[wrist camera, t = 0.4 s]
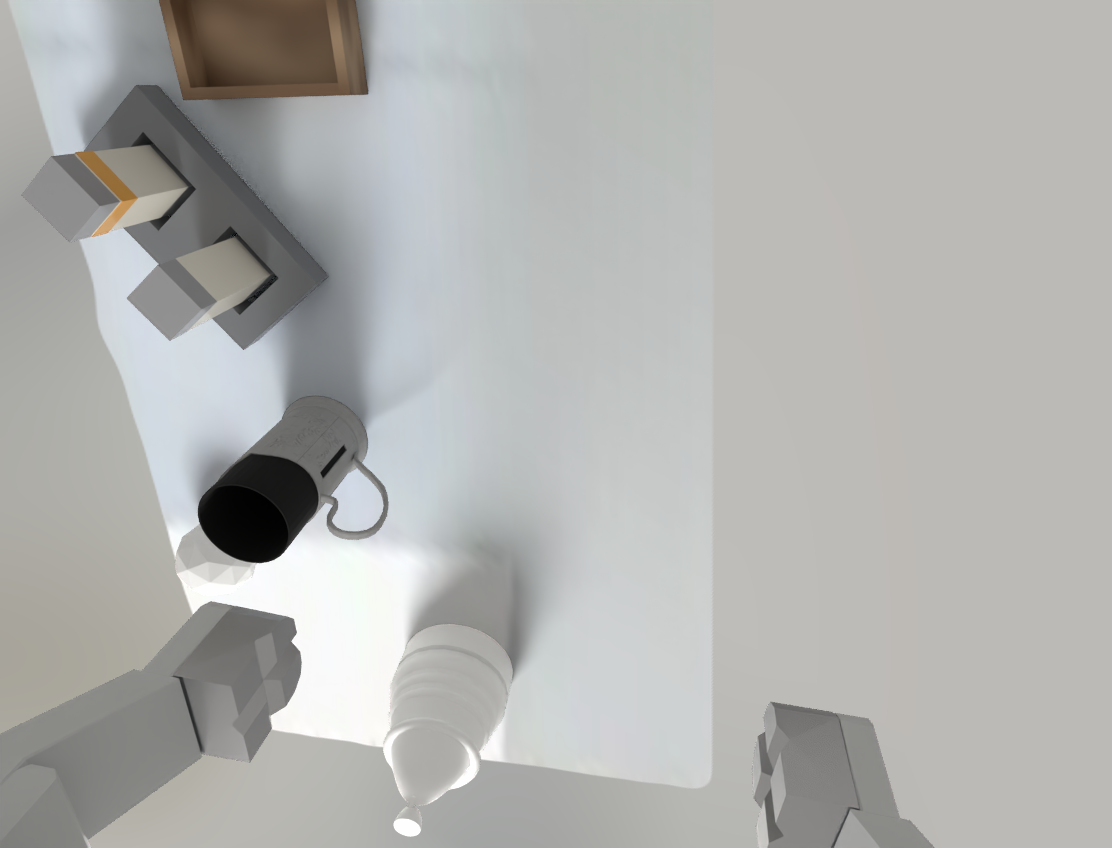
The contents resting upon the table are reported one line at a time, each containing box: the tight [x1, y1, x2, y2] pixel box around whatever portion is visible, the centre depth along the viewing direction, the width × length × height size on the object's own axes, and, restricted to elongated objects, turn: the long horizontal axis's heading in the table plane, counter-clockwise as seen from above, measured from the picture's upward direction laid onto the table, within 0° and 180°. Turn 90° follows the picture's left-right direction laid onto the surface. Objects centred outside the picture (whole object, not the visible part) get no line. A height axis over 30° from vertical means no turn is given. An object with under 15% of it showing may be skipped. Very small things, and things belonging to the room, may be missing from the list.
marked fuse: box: [22, 144, 196, 242], centre depth 51 cm, size 4×4×12 cm
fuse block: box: [83, 85, 328, 350], centre depth 57 cm, size 19×10×2 cm, turn 39°
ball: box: [175, 524, 256, 596], centre depth 70 cm, size 8×8×8 cm
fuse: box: [127, 235, 275, 341], centre depth 54 cm, size 4×4×12 cm
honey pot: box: [383, 624, 513, 836], centre depth 70 cm, size 13×13×18 cm
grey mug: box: [198, 396, 388, 563], centre depth 60 cm, size 9×14×15 cm, turn 80°
